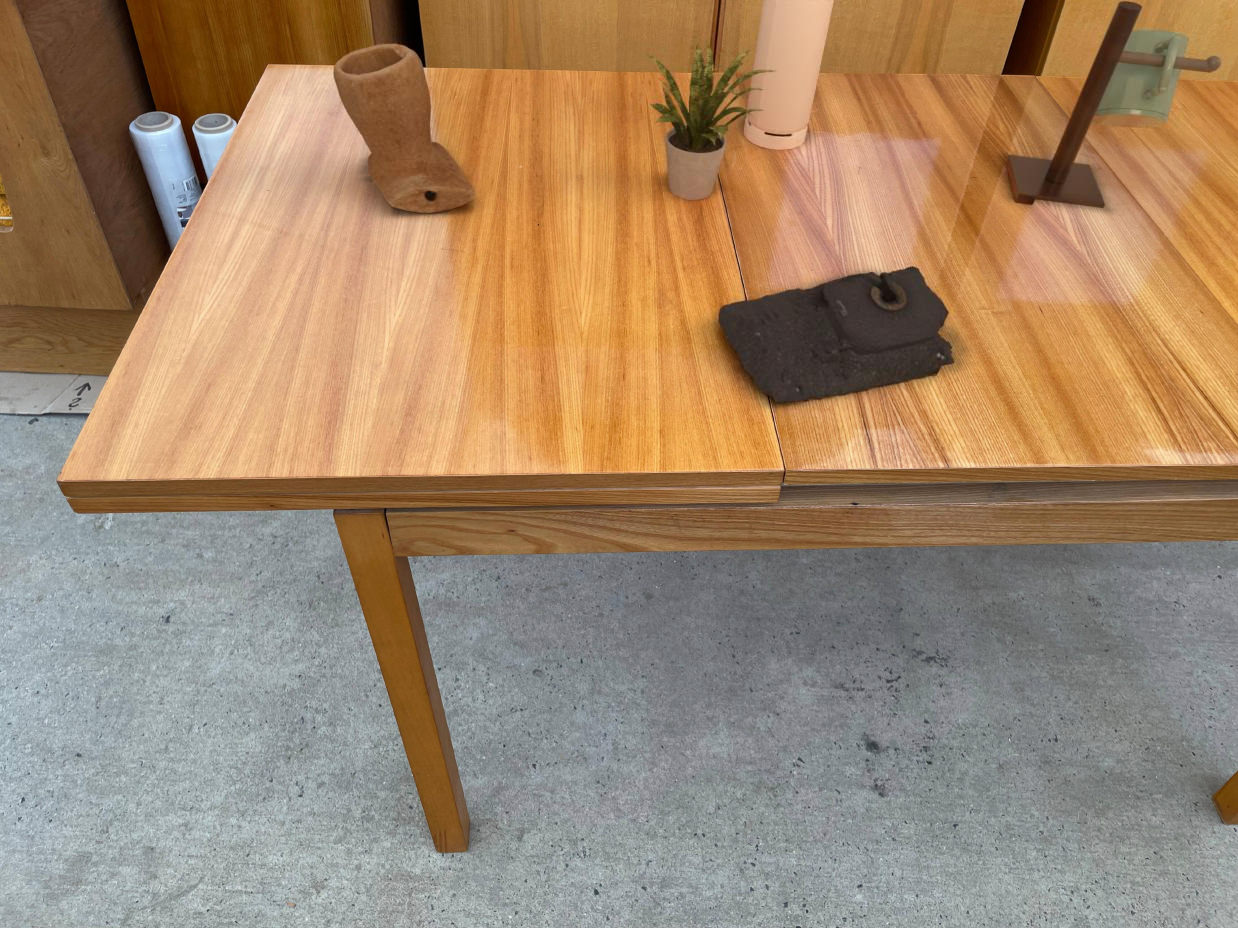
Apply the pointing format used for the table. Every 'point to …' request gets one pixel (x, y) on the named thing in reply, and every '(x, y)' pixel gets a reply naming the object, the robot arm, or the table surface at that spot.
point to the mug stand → (1088, 121)
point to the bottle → (786, 71)
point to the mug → (1143, 83)
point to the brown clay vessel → (399, 129)
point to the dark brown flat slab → (840, 335)
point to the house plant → (699, 125)
